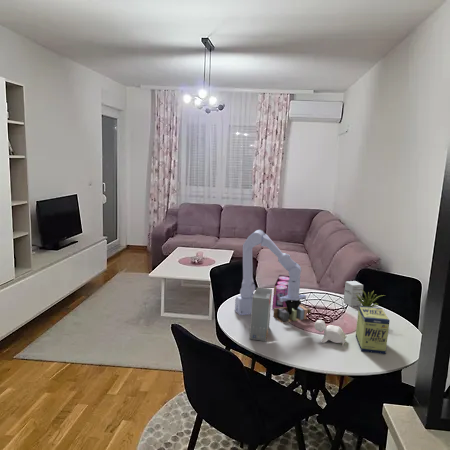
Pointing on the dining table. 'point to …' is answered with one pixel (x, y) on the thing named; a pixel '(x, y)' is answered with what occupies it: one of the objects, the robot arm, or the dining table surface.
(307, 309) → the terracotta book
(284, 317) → the bookend
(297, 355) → the dining table surface
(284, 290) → the gum box
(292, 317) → the olive book
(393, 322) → the dining table surface
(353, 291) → the supplement box
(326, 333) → the white animal figurine
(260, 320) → the hard drive box
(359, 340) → the protein box
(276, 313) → the shelf
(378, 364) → the dining table surface
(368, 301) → the house plant
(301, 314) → the blue book
